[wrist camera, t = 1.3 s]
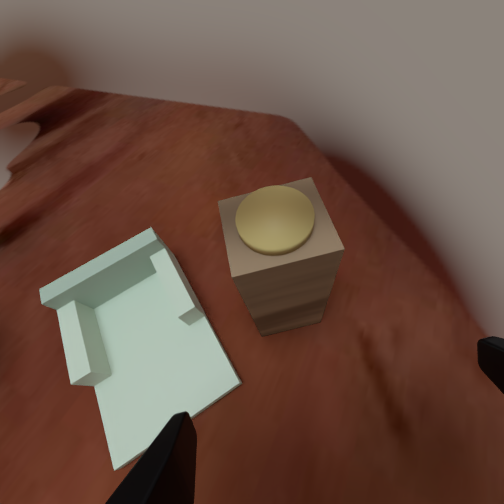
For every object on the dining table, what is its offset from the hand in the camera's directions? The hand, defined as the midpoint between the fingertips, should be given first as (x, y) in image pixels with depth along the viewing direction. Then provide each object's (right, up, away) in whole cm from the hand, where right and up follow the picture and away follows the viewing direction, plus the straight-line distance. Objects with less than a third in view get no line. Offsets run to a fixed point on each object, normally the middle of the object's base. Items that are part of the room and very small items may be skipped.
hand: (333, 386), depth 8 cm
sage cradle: (-11, -4, +15) cm, 19 cm away
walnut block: (0, 0, +15) cm, 15 cm away
